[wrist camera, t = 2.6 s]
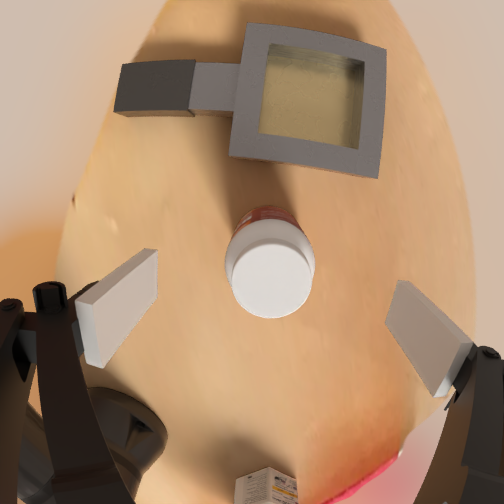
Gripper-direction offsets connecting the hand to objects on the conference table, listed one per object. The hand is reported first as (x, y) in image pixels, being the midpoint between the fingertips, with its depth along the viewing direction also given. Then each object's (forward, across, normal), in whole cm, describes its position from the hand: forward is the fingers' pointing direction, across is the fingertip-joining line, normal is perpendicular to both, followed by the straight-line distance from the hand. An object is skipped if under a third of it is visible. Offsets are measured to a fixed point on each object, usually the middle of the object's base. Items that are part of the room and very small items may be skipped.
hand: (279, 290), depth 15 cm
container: (+12, +6, -42) cm, 45 cm away
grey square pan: (+13, -4, +13) cm, 18 cm away
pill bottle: (+13, 0, 0) cm, 13 cm away
